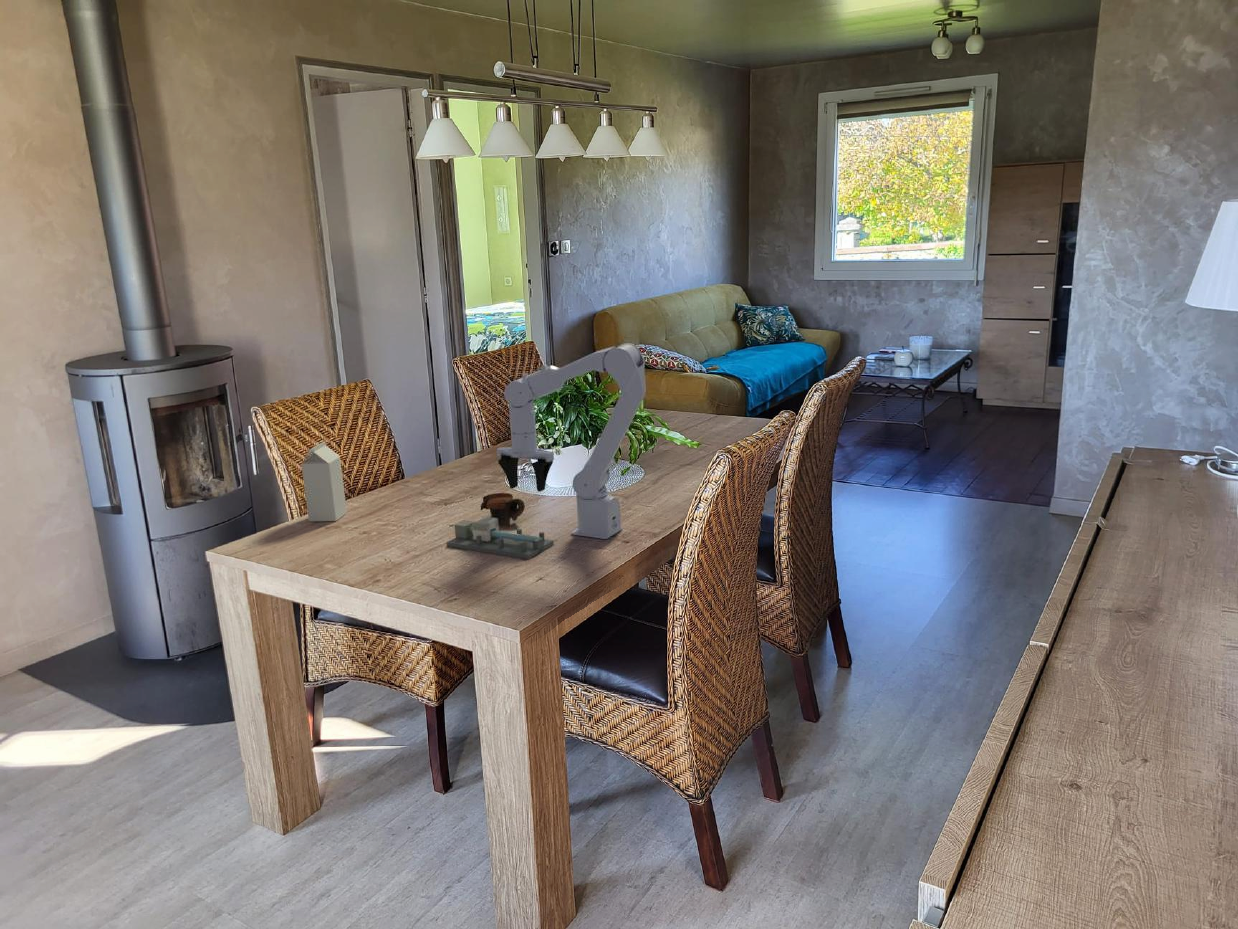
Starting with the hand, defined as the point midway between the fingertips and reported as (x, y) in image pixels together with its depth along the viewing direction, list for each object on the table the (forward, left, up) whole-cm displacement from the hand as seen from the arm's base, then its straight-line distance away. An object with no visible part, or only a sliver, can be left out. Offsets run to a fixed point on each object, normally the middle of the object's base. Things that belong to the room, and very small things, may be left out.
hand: (527, 488), depth 212 cm
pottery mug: (+10, -3, -10) cm, 14 cm away
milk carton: (+54, +11, -10) cm, 56 cm away
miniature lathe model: (0, +12, -10) cm, 16 cm away
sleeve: (+4, +12, -9) cm, 15 cm away
